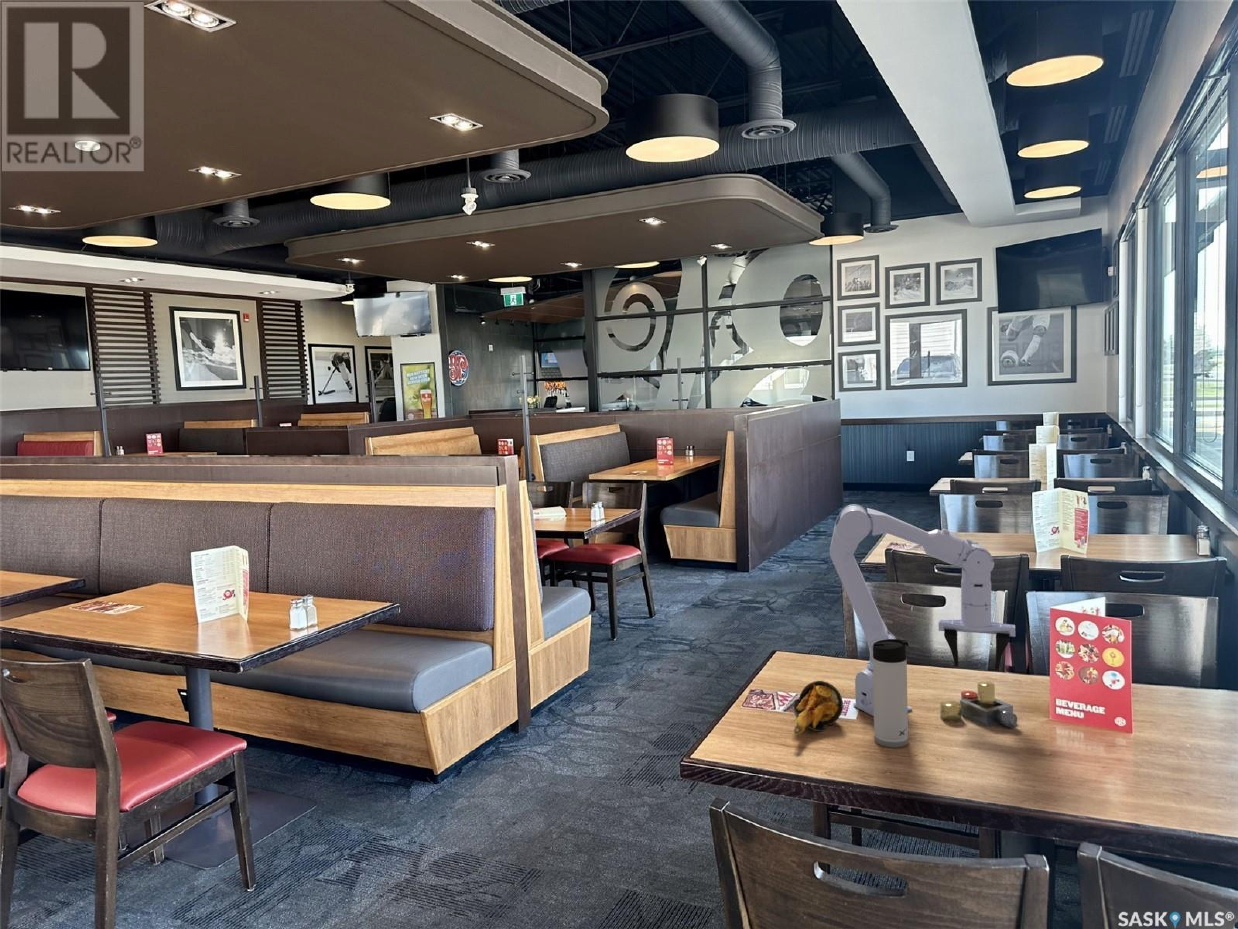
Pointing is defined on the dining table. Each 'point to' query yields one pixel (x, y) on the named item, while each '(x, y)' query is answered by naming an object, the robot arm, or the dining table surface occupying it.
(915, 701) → the dining table surface
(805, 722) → the fried food
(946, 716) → the brass union nut
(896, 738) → the travel mug
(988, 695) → the brass nipple
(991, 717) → the valve body
